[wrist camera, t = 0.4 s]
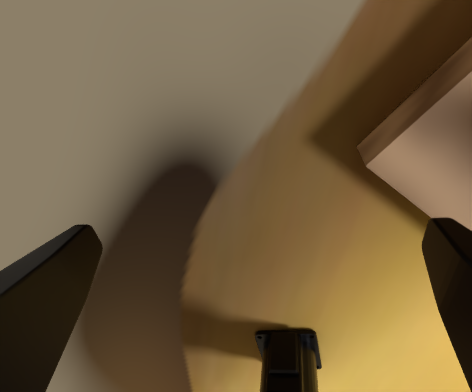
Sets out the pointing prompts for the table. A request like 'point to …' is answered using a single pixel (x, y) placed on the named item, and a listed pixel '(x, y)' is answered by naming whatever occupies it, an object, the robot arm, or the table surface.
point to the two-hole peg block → (430, 143)
